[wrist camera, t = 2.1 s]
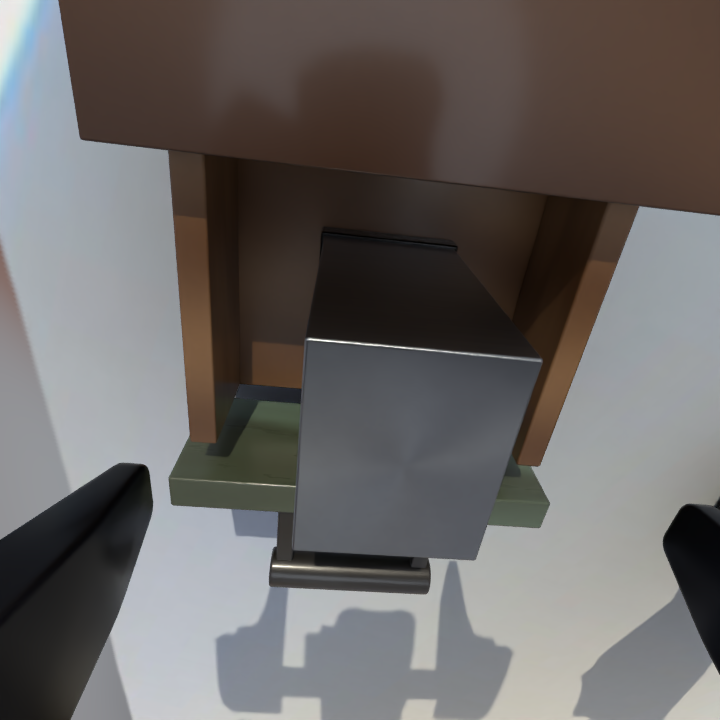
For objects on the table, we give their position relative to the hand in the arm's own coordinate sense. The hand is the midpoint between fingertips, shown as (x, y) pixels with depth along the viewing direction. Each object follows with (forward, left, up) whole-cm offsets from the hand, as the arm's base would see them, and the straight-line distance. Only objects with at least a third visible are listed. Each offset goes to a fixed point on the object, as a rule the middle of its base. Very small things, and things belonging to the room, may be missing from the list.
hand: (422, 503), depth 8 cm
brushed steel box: (0, 0, -9) cm, 9 cm away
